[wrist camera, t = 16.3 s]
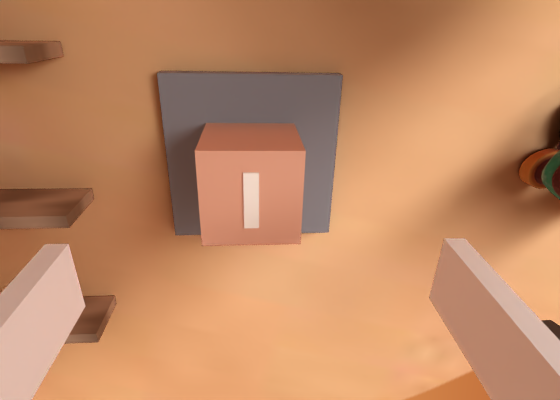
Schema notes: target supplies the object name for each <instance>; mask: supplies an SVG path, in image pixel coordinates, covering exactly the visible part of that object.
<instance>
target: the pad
mask: <svg viewBox="0 0 560 400" xmlns="http://www.w3.org/2000/svg"><path fill="white" fill-rule="evenodd" d="M157 78H158V87H159V95H160V104H161V113H162V122H163V130H164V139H165V148H166V156H167V165H168V174H169V182H170V191H171V200H172V209H173V217H174V226H175V235H201V227H200V214H199V201H198V188H197V174H196V161H195V149H196V146H197V144H198V142H199V139H200V137H201V134H202V132H203V130H204V127H205V125H206V123H294V124H295V126H296V129H297V131H298V134H299V136H300V138H301V141H302V143H303V145H304V148H305V150H306V157H305V174H304V192H303V209H302V227H301V233H325V232H329V223H330V212H331V200H332V189H333V178H334V167H335V156H336V145H337V133H338V122H339V111H340V100H341V89H342V78H343V75H341V74H340V73H286V72H210V71H159V72H158V73H157Z"/></svg>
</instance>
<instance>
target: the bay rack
mask: <svg viewBox="0 0 560 400" xmlns="http://www.w3.org/2000/svg"><path fill="white" fill-rule="evenodd" d="M62 56H63V52H62V47H61V42H60V41H9V40H0V63H21V64H28V63H33V62H38V61H42V60H47V59H52V58H57V57H62ZM93 200H94V197H93V192H92V188H90V189H0V229H30V228H70V226H71V225H72V224H73V223H74V222H75V221H76V219H77V218H78V217H79V216H80V215H81V214H82V212H83V211H84V210H85V209H86V208H87V207H88V205H89V204H90V203H91V202H92V201H93ZM83 299H84V303H85V308H84V310H83V312H82V313H81V315H80V317H79V318H78V320H77V322H76V324H75V325H74V327H73V329H72V331H71V332H70V334H69V336H68V338H67V339H66V341H65V343H64V344H66V343H92V342H99V340H100V338H101V336H102V333H103V331H104V329H105V327H106V325H107V323H108V321H109V318H110V316H111V314H112V312H113V310H114V308H115V306H116V300H115V296H91V297H83Z"/></svg>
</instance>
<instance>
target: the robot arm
mask: <svg viewBox="0 0 560 400" xmlns="http://www.w3.org/2000/svg"><path fill="white" fill-rule="evenodd" d="M429 299H430V300H431V302H432V304H433V305H434V307H435V309H436V310H437V312H438V313H439V315H440V317H441V318H442V320H443V322H444V323H445V325H446V327H447V328H448V330H449V331H450V333H451V335H452V336H453V338H454V340H455V341H456V343H457V345H458V346H459V348H460V349H461V351H462V353H463V354H464V356H465V358H466V359H467V361H468V363H469V364H470V366H471V367H472V369H473V371H474V372H475V374H476V376H477V377H478V379H479V380H480V382H481V384H482V385H483V387H484V389H485V390H486V392H487V394H488V395H489V397H490V399H491V400H560V326H559V325H558V324H556V323H555V322H553V321H551V320H542V321H541V320H540V319H539V318H538V316H537V315H536V314H535V313H534V312H533V311H532V310H531V309H530V308H529V307H528V306H527V305H526V304H525V303H524V301H523V300H522V299H521V298H520V297H519V296H518V295H517V294H516V293H515V292H514V291H513V290H512V289H511V287H510V286H509V285H508V284H507V283H506V282H505V281H504V280H503V279H502V278H501V277H500V276H499V275H498V273H497V272H496V271H495V270H494V269H493V268H492V267H491V266H490V265H489V264H488V263H487V262H486V261H485V260H484V258H483V257H482V256H481V255H480V254H479V253H478V252H477V251H476V250H475V249H474V248H473V247H472V246H471V244H470V243H469V242H468V241H467V240H466V239H465V238H444V241H443V245H442V249H441V253H440V257H439V261H438V265H437V269H436V273H435V277H434V280H433V284H432V288H431V292H430V296H429ZM84 308H85V303H84V299H83V295H82V292H81V288H80V284H79V280H78V277H77V273H76V269H75V266H74V262H73V258H72V254H71V251H70V247H69V244H45V245H44V246H43V247H42V248H41V249H40V250H39V251H38V253H37V254H36V255H35V256H34V257H33V258H32V259H31V260H30V261H29V262H28V264H27V265H26V266H25V267H24V268H23V269H22V270H21V271H20V272H19V274H18V275H17V276H16V277H15V278H14V279H13V280H12V281H11V282H10V283H9V285H8V286H7V287H6V288H5V289H4V290H3V291H2V292H1V293H0V400H32V398H33V397H34V395H35V393H36V391H37V390H38V388H39V386H40V384H41V383H42V381H43V379H44V377H45V376H46V374H47V372H48V371H49V369H50V367H51V365H52V364H53V362H54V360H55V358H56V357H57V355H58V353H59V351H60V350H61V348H62V346H63V344H64V343H65V341H66V339H67V338H68V336H69V334H70V332H71V331H72V329H73V327H74V325H75V324H76V322H77V320H78V318H79V317H80V315H81V313H82V312H83V310H84Z"/></svg>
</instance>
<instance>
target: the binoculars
mask: <svg viewBox="0 0 560 400" xmlns="http://www.w3.org/2000/svg"><path fill="white" fill-rule="evenodd" d="M557 149H558V150H557ZM557 149H544V150H541V151H538V152H536V153H534V154H532V155H531V156H529V157H528V158H527V159H526V160H525V161H524V162H523V163H522V165H521V167H520V169H519V176H520V178H521V180H522V181H523V182H525V183H527V184H529V185H531V186H533V187H535V188H539V189H543V188H547V189H548V190H549V191H550V192H551V193H552V194H553V195H554V196H556V197H557V198H558V199H559V200H560V141H559V143H558V145H557Z"/></svg>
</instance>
